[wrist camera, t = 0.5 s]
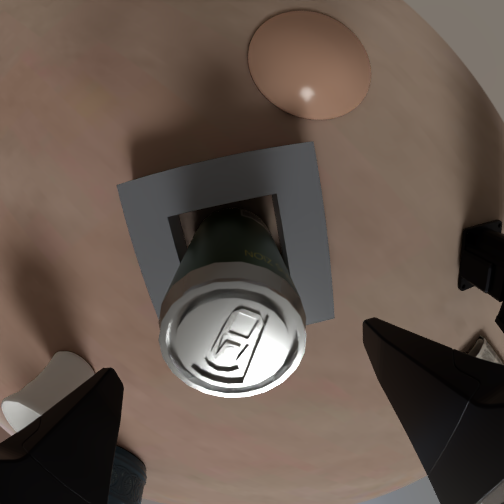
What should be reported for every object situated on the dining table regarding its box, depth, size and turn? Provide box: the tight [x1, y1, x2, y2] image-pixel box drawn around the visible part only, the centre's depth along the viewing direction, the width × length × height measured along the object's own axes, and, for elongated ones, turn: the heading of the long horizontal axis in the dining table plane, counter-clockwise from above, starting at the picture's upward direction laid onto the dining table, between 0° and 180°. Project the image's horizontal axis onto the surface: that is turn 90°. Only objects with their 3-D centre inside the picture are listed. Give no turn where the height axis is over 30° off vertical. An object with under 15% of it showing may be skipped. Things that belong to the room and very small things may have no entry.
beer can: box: [159, 208, 306, 397], centre depth 15 cm, size 5×5×12 cm
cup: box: [1, 351, 95, 432], centre depth 19 cm, size 9×9×10 cm
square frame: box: [117, 142, 334, 325], centre depth 19 cm, size 12×12×3 cm
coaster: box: [248, 11, 371, 120], centre depth 16 cm, size 9×9×1 cm
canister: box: [108, 446, 147, 504], centre depth 21 cm, size 13×13×18 cm
